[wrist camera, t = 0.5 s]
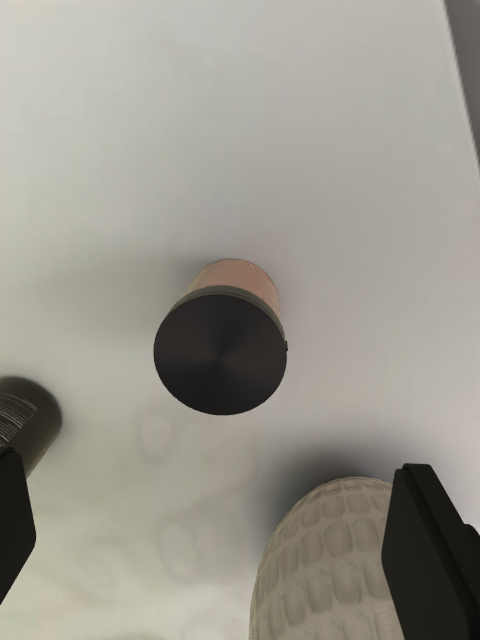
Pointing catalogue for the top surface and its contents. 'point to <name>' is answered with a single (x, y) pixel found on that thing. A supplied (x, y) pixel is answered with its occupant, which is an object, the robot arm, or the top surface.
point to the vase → (327, 568)
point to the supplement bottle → (27, 420)
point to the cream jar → (238, 280)
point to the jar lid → (221, 350)
